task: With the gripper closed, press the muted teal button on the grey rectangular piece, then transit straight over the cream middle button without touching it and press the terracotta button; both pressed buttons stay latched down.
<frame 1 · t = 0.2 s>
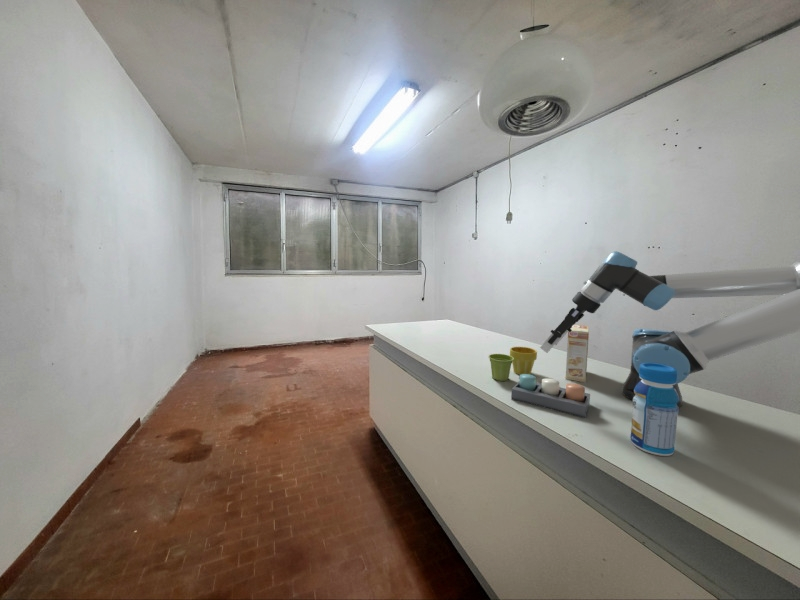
hand: (548, 346, 104), 16 cm above the table, tool tilted 35°, fingers open, 13 cm apart
beverage bottle: (651, 447, 73), on the table
grey rectangular piece: (549, 401, 97), on the table
button terracotta: (575, 393, 92), point 5 cm above the table, slide at 0.0 cm
plant pot 2: (500, 378, 118), on the table
plant pot: (522, 373, 124), on the table
button teal: (527, 382, 101), point 5 cm above the table, slide at 0.0 cm
button cream: (550, 387, 97), point 5 cm above the table, slide at 0.0 cm
coffeecake box: (575, 375, 121), on the table
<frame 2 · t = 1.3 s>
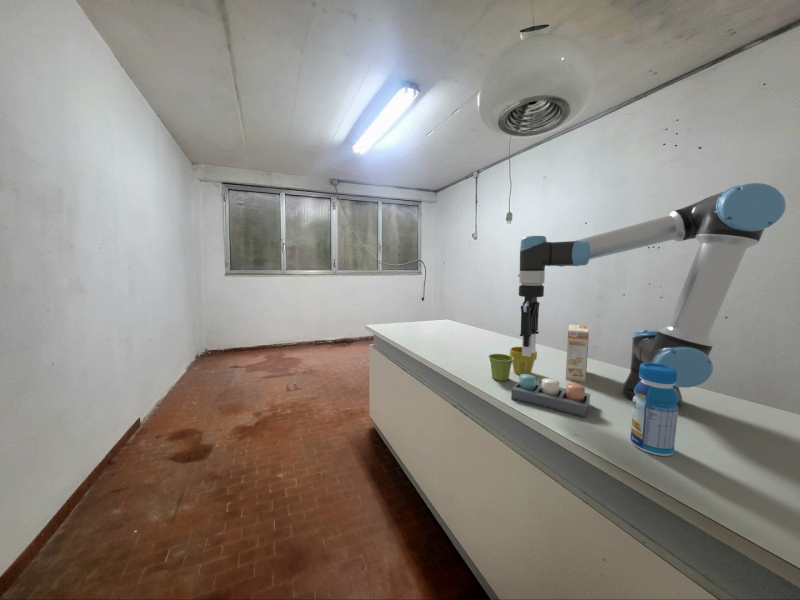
hand: (528, 354, 100), 15 cm above the table, tool pointing down, fingers open, 4 cm apart
nothing on the table moved.
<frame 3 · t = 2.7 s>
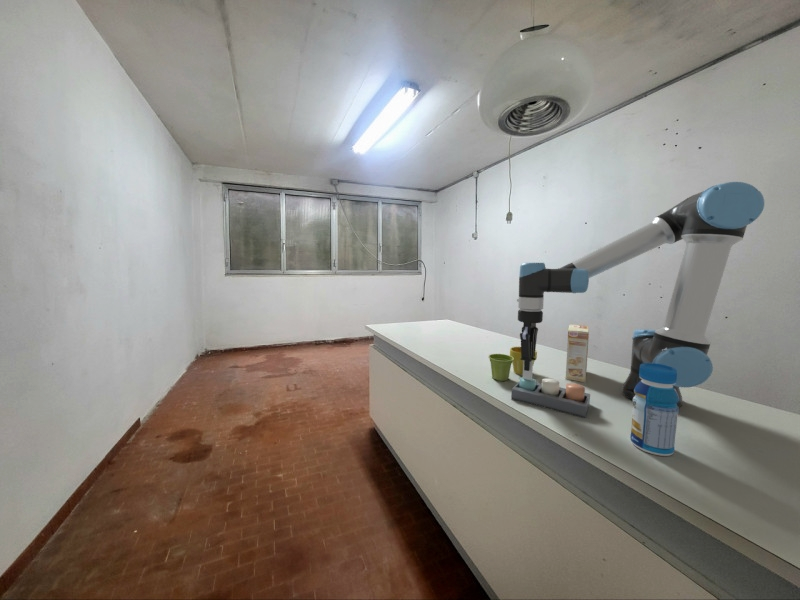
hand: (527, 378, 101), 6 cm above the table, tool pointing down, fingers closed
button teal: (527, 385, 101), point 4 cm above the table, slide at 1.1 cm, touching gripper
everything else where it was.
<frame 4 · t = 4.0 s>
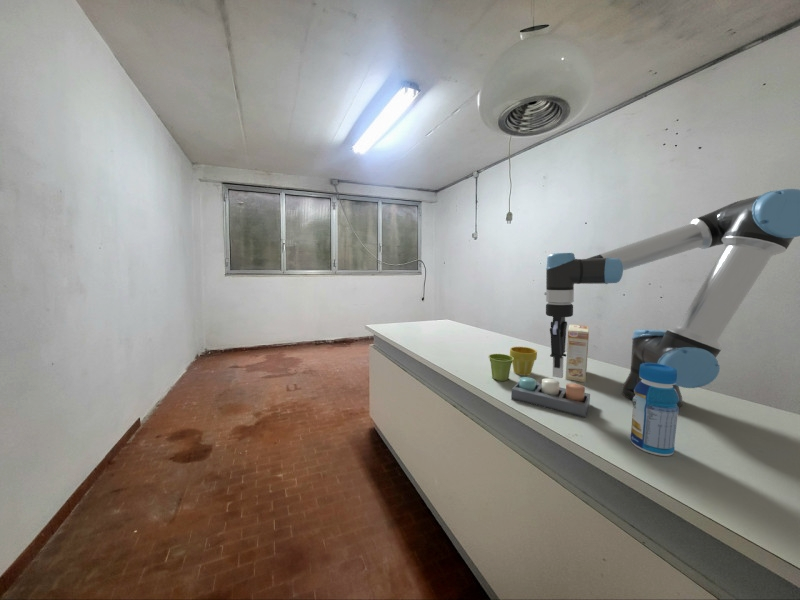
hand: (557, 376, 95), 9 cm above the table, tool pointing down, fingers closed
button teal: (527, 386, 101), point 4 cm above the table, slide at 1.2 cm
everything else where it was.
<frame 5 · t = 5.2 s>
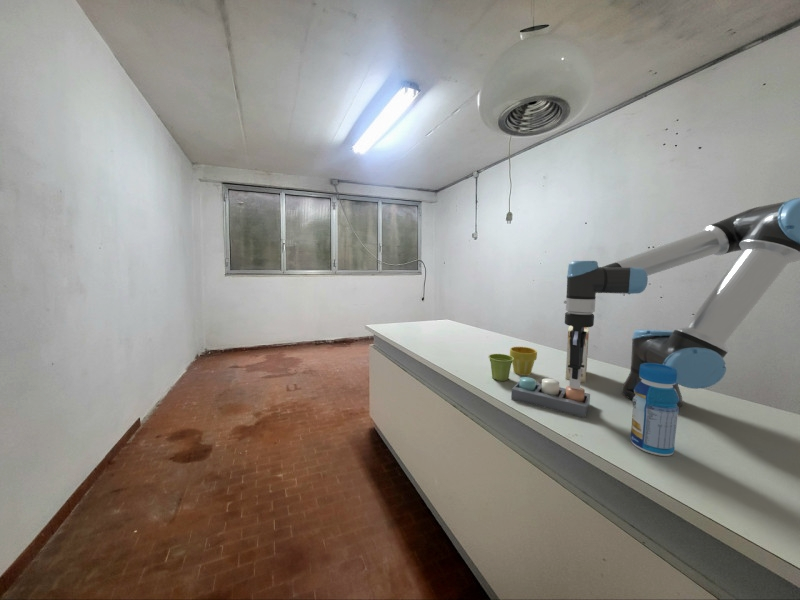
hand: (574, 387, 92), 6 cm above the table, tool pointing down, fingers closed
button terracotta: (574, 395, 93), point 4 cm above the table, slide at 0.8 cm, touching gripper
everything else where it was.
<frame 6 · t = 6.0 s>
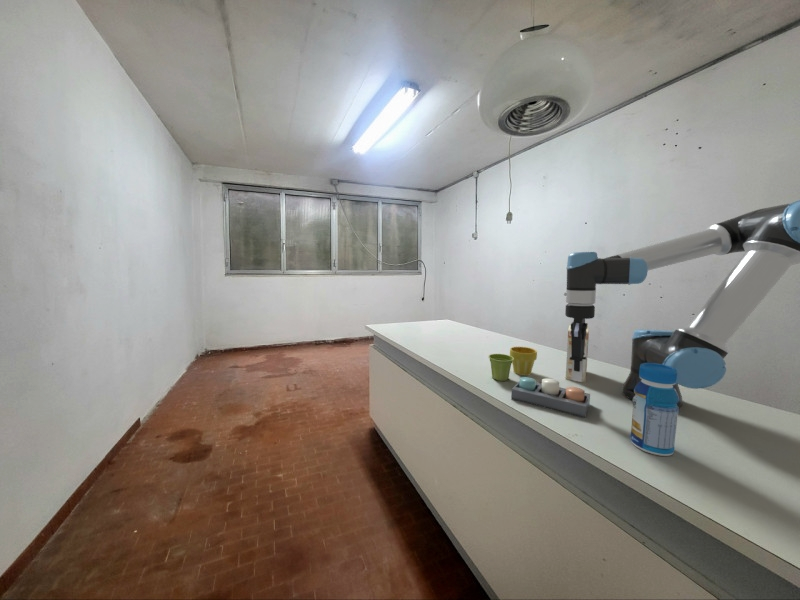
hand: (576, 380, 92), 9 cm above the table, tool pointing down, fingers closed
button terracotta: (574, 396, 93), point 4 cm above the table, slide at 1.2 cm
everything else where it was.
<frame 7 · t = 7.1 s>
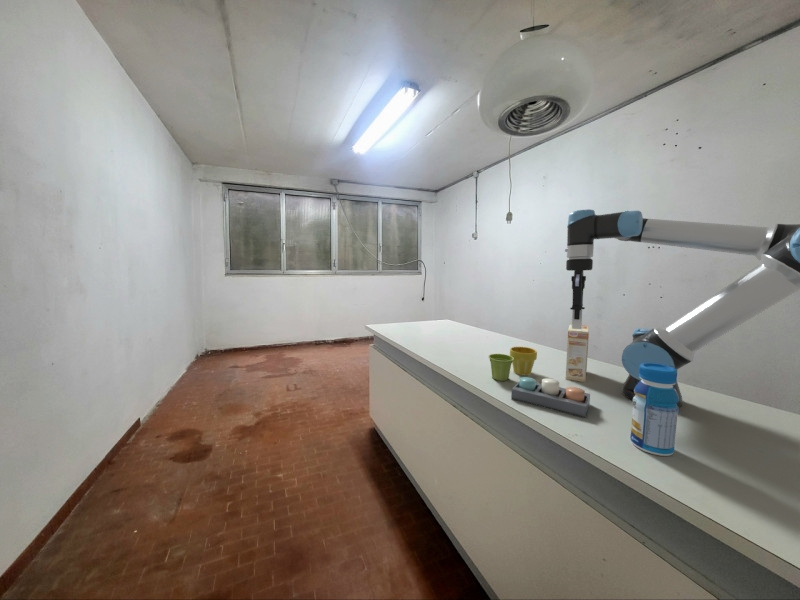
hand: (576, 328, 102), 23 cm above the table, tool pointing down, fingers closed
nothing on the table moved.
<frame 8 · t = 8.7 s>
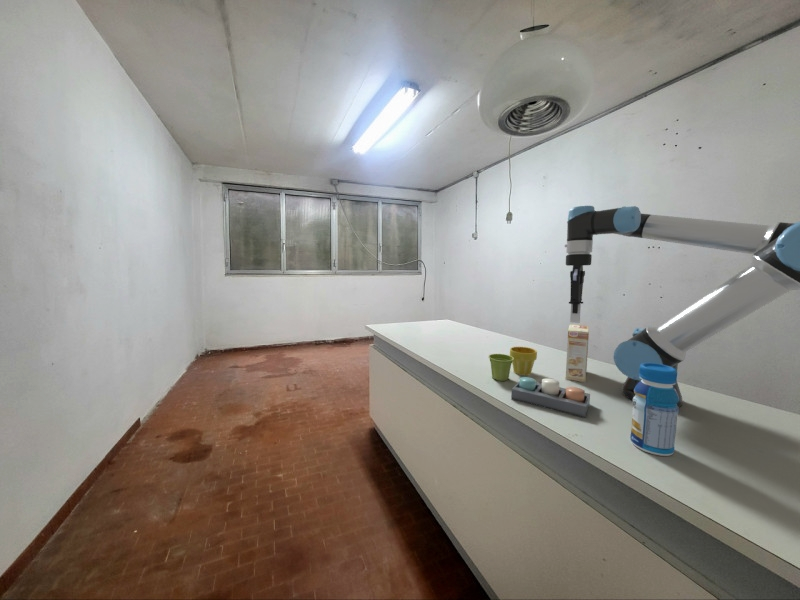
hand: (574, 322, 104), 24 cm above the table, tool pointing down, fingers closed
nothing on the table moved.
at the end: button teal slide at 1.2 cm; button terracotta slide at 1.2 cm; button cream slide at 0.0 cm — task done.
